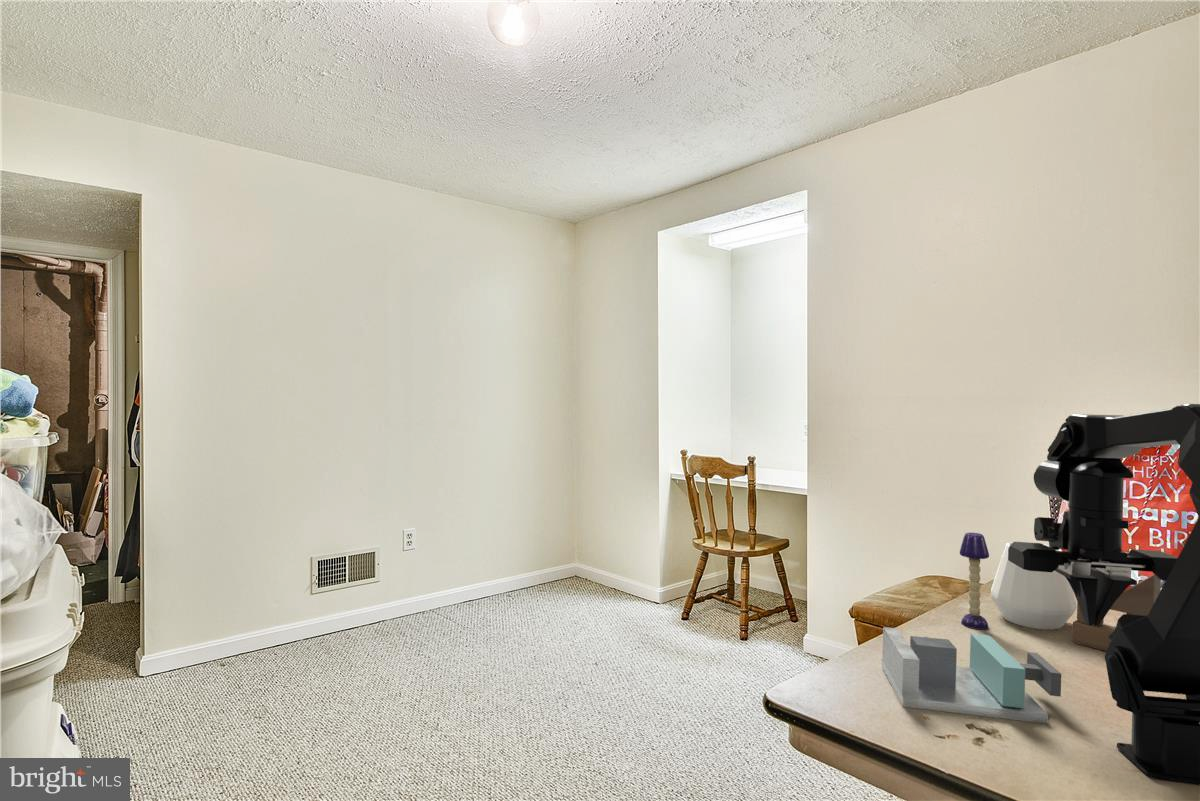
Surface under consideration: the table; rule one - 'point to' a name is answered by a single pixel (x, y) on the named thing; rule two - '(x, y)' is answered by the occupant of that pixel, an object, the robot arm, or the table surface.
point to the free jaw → (1010, 671)
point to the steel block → (935, 661)
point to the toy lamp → (974, 577)
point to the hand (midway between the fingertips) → (1091, 625)
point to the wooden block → (1129, 602)
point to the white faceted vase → (1032, 595)
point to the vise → (963, 699)
